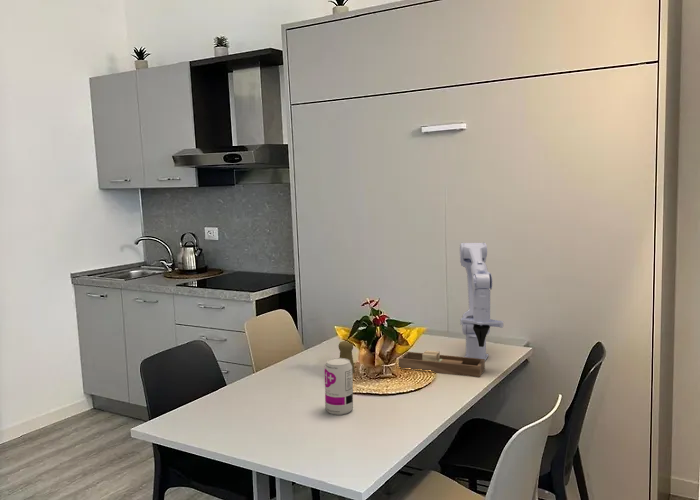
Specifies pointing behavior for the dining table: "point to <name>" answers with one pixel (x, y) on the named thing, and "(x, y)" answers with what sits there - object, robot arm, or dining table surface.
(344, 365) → the supplement can
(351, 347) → the olive pepper mill
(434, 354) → the maple block
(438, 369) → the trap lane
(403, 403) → the dining table surface
